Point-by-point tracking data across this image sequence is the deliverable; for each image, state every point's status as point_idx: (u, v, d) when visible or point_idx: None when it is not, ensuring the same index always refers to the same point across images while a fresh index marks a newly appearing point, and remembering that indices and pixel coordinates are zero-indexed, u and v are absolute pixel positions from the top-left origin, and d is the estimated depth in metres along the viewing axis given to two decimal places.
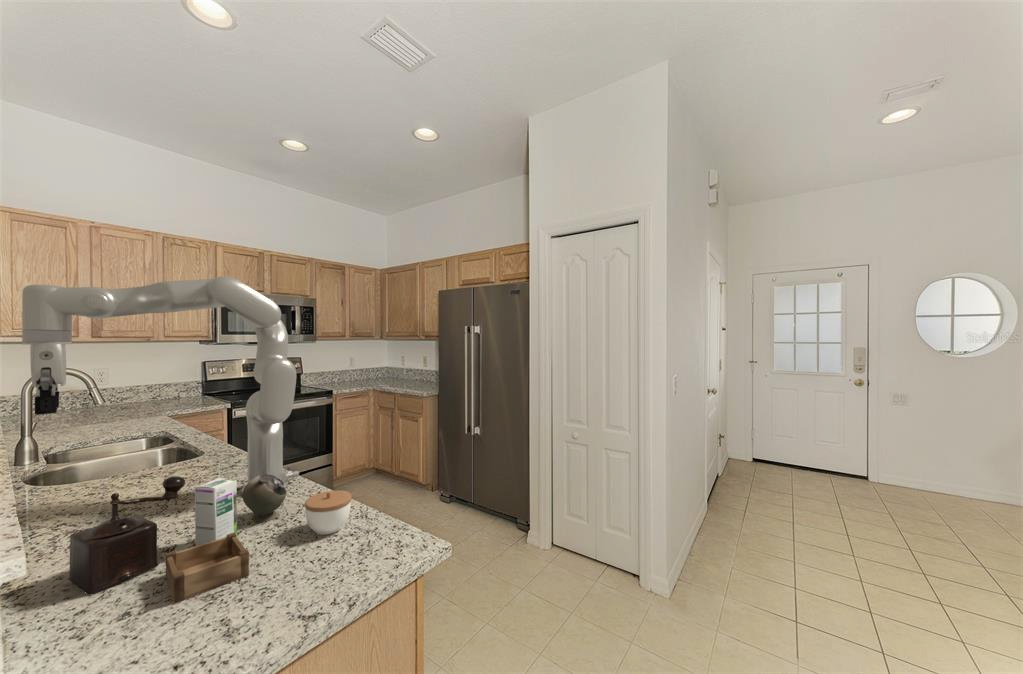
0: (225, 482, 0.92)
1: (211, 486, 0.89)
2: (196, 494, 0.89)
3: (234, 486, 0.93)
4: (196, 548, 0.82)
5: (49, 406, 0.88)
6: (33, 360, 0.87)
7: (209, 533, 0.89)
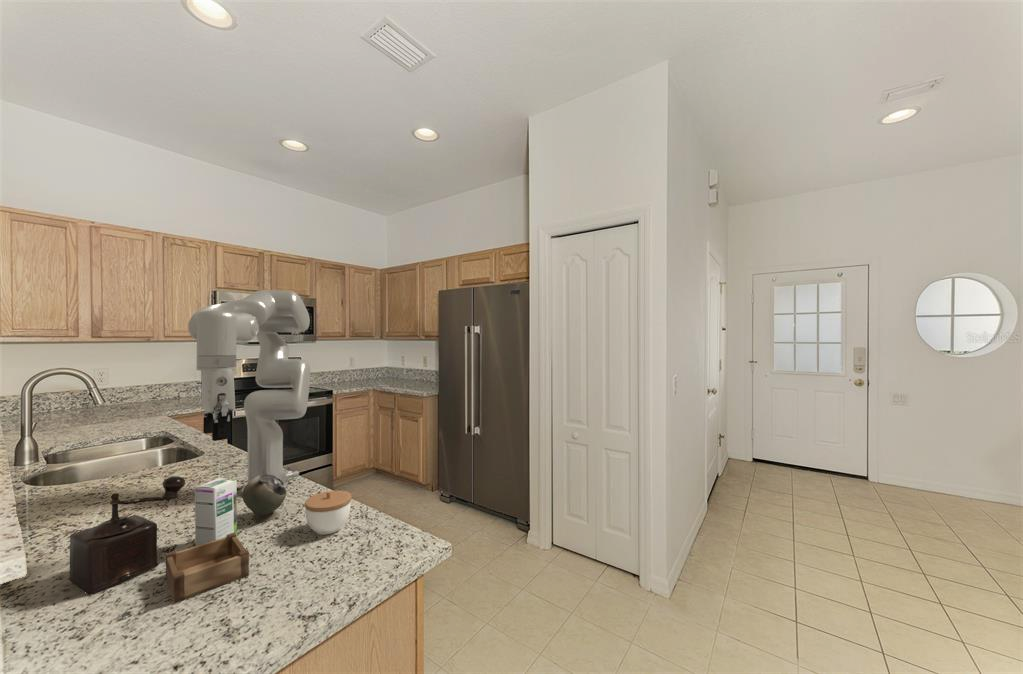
0: (225, 482, 0.92)
1: (211, 486, 0.89)
2: (196, 494, 0.89)
3: (234, 486, 0.93)
4: (196, 548, 0.82)
5: (225, 432, 0.88)
6: (211, 386, 0.87)
7: (209, 533, 0.89)
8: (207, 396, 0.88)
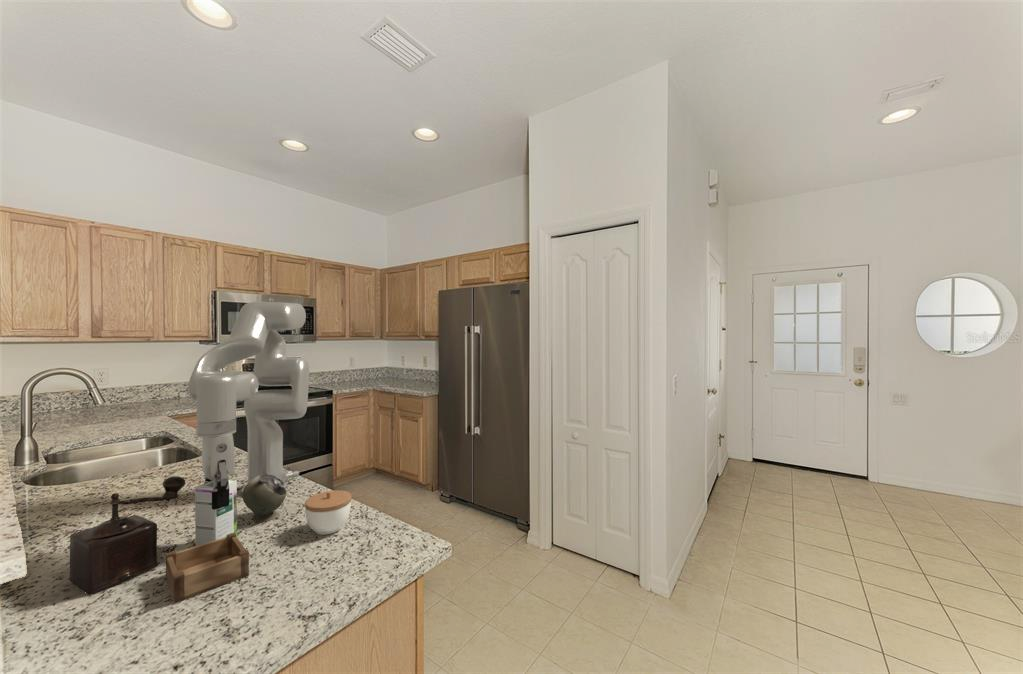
0: None
1: (211, 486, 0.89)
2: (196, 494, 0.89)
3: (234, 486, 0.93)
4: (196, 548, 0.82)
5: (224, 500, 0.89)
6: (211, 454, 0.87)
7: (209, 533, 0.89)
8: (207, 463, 0.88)
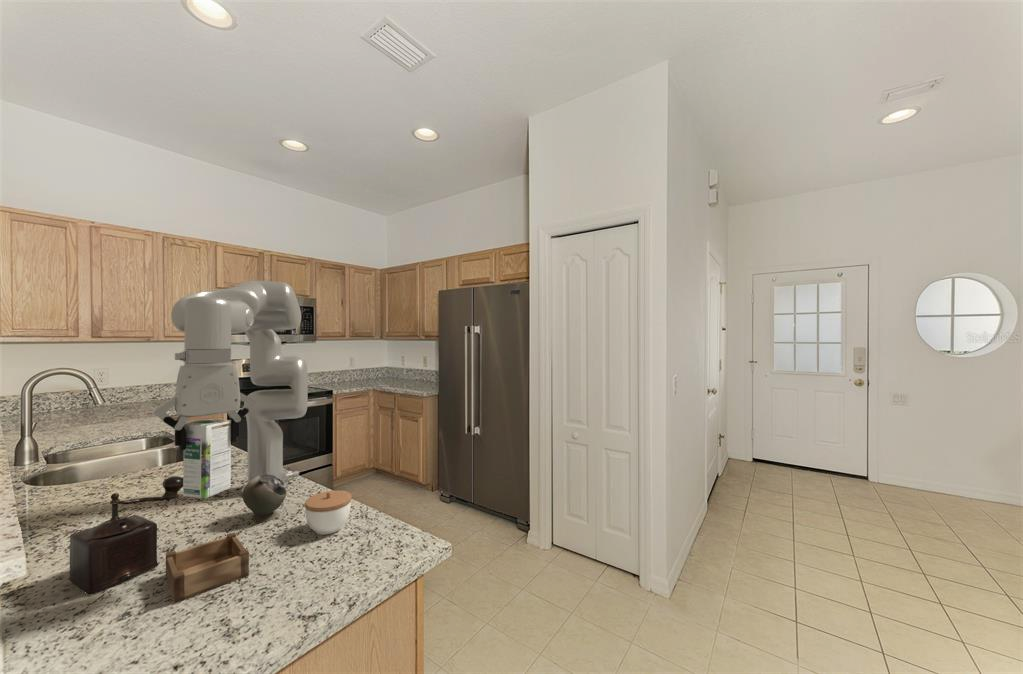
0: (200, 423, 0.77)
1: (191, 422, 0.78)
2: None
3: (203, 432, 0.76)
4: (196, 548, 0.82)
5: (176, 441, 0.75)
6: None
7: None
8: None
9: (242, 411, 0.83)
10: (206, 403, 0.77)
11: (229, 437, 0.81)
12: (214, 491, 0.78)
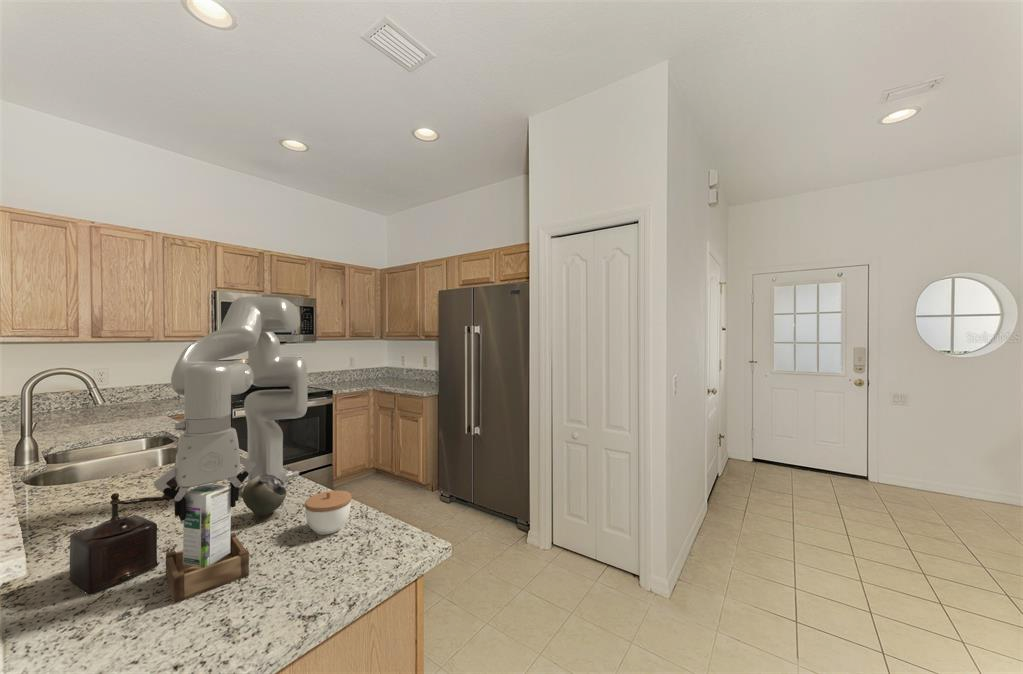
0: (200, 492, 0.77)
1: (190, 490, 0.78)
2: None
3: (203, 502, 0.76)
4: None
5: (175, 512, 0.75)
6: None
7: None
8: None
9: (242, 475, 0.83)
10: (206, 472, 0.77)
11: (229, 503, 0.81)
12: (214, 559, 0.78)
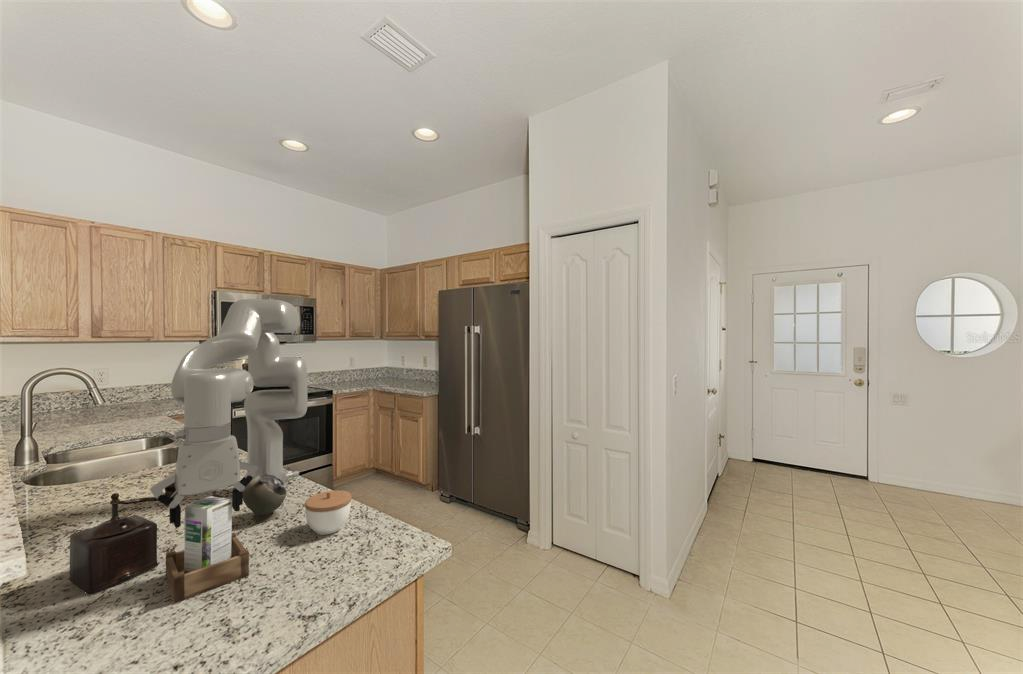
0: (201, 506, 0.78)
1: (192, 503, 0.79)
2: None
3: (204, 516, 0.77)
4: None
5: (170, 519, 0.75)
6: None
7: None
8: None
9: (246, 480, 0.84)
10: (206, 480, 0.77)
11: (230, 516, 0.81)
12: None
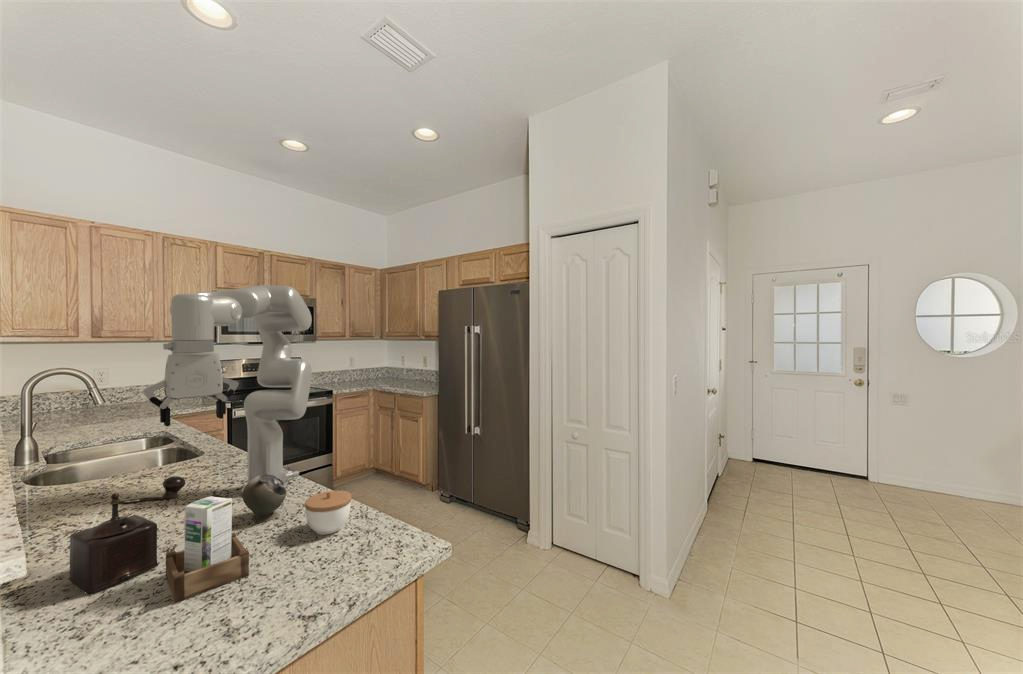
0: (201, 506, 0.78)
1: (192, 503, 0.79)
2: None
3: (204, 516, 0.77)
4: None
5: (161, 418, 0.86)
6: None
7: None
8: None
9: (228, 392, 0.95)
10: (192, 387, 0.88)
11: (230, 516, 0.81)
12: None
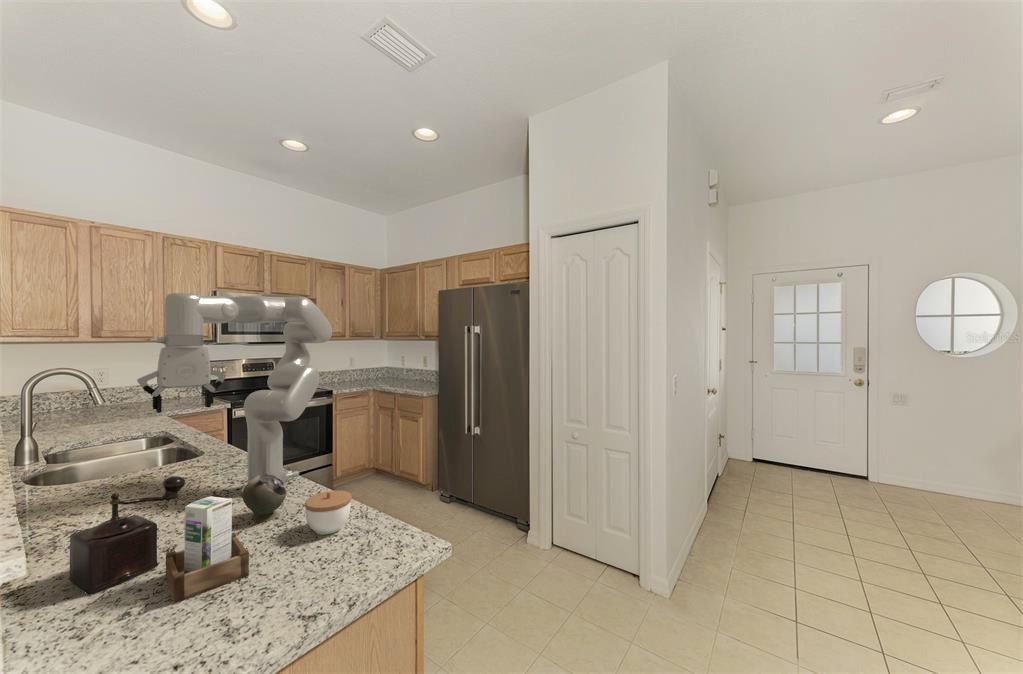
0: (201, 506, 0.78)
1: (192, 503, 0.79)
2: None
3: (204, 516, 0.77)
4: None
5: (153, 405, 0.94)
6: None
7: None
8: None
9: (216, 383, 1.03)
10: (182, 377, 0.96)
11: (230, 516, 0.81)
12: None
